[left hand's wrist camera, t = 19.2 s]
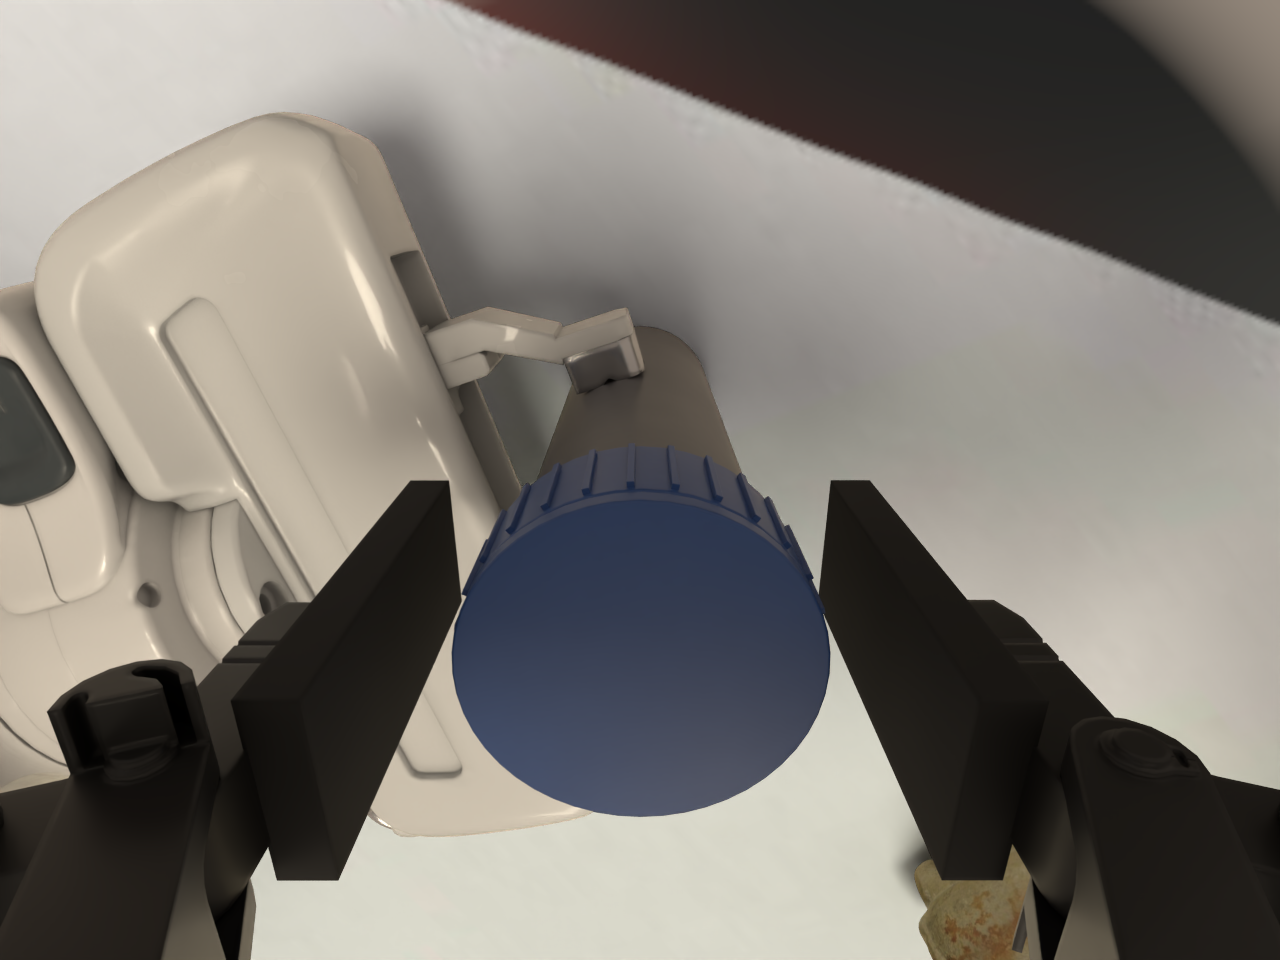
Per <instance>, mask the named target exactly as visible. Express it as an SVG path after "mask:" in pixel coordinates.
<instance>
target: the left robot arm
mask: <svg viewBox="0 0 1280 960" xmlns="http://www.w3.org/2000/svg"><path fill="white" fill-rule="evenodd" d="M819 597H820V599H821V601H822V603H823V606H824V608H825V612H826V613H825V614H824V616H825V618H826V620H827V623H828V625H829V627H830V629H831V632H832V634H833V636H834V638H835V641H836V643H837V645H838V647H839V650H840V652H841V654H842V657H843V659H844V661H845V663H846V666H847V668H848V670H849V672H850V675H851V677H852V679H853V681H854V684H855V686H856V688H857V690H858V693H859V695H860V697H861V699H862V702H863V704H864V706H865V708H866V711H867V713H868V715H869V717H870V720H871V722H872V724H873V726H874V729H875V731H876V733H877V736H878V738H879V740H880V742H881V745H882V747H883V749H884V751H885V754H886V756H887V758H888V760H889V763H890V765H891V767H892V769H893V772H894V774H895V776H896V778H897V781H898V783H899V785H900V787H901V790H902V792H903V794H904V796H905V799H906V801H907V803H908V806H909V808H910V810H911V812H912V815H913V817H914V819H915V821H916V824H917V826H918V828H919V830H920V833H921V835H922V837H923V839H924V842H925V844H926V846H927V848H928V851H929V853H930V855H931V857H932V860H933V862H934V864H935V866H936V869H937V871H938V873H939V875H940V878H941V880H1003V878H1004V874H1005V871H1006V867H1007V863H1008V859H1009V855H1010V851H1011V848H1012V844H1013V846H1014V848H1015V850H1016V851H1017V853H1018V855H1019V856H1020V858H1021V860H1022V862H1023V863H1024V865H1025V867H1026V869H1027V870H1028V872H1029V874H1030V875H1031V876H1030V879H1029V883H1028V886H1027V890H1026V894H1025V897H1024V901H1023V904H1022V908H1021V912H1020V915H1019V919H1018V922H1017V926H1016V930H1015V933H1014V938H1013V944H1012V950H1013V951H1016V952H1019V953H1022V951H1023V947H1024V944H1025V940H1026V937H1027V938H1028V947H1029V957H1030V960H1280V790H1278V789H1273V788H1268V787H1264V786H1259V785H1255V784H1250V783H1245V782H1241V781H1236V780H1231V779H1227V778H1222V777H1218V776H1214V775H1211V774H1210V772H1209V771H1208V770H1207V768H1206V767H1205V766H1204V764H1203V763H1202V762H1201V760H1200V759H1199V758H1198V756H1197V755H1195V754H1194V753H1193V752H1191V751H1190V750H1189V749H1188V748H1186V747H1185V746H1184V745H1182V744H1181V743H1180V742H1179V741H1177V740H1176V739H1174V738H1172V737H1170V736H1168V735H1166V734H1164V733H1162V732H1160V731H1158V730H1156V729H1154V728H1152V727H1150V726H1147V725H1143V724H1140V723H1137V722H1134V721H1131V720H1127V719H1123V718H1115V717H1114V716H1113V715H1112V714H1111V713H1110V712H1109V711H1108V710H1107V709H1106V708H1105V707H1104V705H1103V704H1102V703H1101V702H1100V701H1099V700H1098V699H1097V698H1096V697H1095V696H1094V695H1093V693H1092V692H1091V691H1090V690H1089V689H1088V688H1087V687H1086V686H1085V685H1084V684H1083V683H1082V681H1081V680H1080V679H1079V678H1078V677H1077V676H1076V675H1075V674H1074V673H1073V672H1072V671H1071V669H1070V668H1069V667H1068V666H1067V665H1066V664H1065V663H1064V662H1063V661H1059V659H1058V655H1057V654H1056V653H1055V652H1054V651H1053V650H1052V649H1051V648H1050V647H1049V645H1048V644H1047V643H1043V641H1042V638H1041V637H1040V636H1039V634H1038V633H1037V632H1036V631H1035V630H1034V629H1033V628H1032V627H1031V626H1030V625H1029V624H1028V622H1027V621H1026V620H1025V619H1024V618H1023V617H1021V616H1019V615H1018V614H1016V613H1014V612H1013V611H1011V610H1009V609H1008V608H1006V607H1005V606H1003V605H1001V604H1000V603H998V602H996V601H995V600H967V599H966V598H965V596H964V595H963V594H962V593H961V592H960V590H959V589H958V588H957V587H956V585H955V584H954V583H953V582H952V581H951V579H950V578H949V577H948V576H947V574H946V573H945V572H944V571H943V570H942V568H941V567H940V566H939V565H938V563H937V562H936V561H935V560H934V559H933V557H932V556H931V555H930V554H929V552H928V551H927V550H926V549H925V548H924V546H923V545H922V544H921V543H920V541H919V540H918V539H917V538H916V536H915V535H914V534H913V533H912V532H911V530H910V529H909V528H908V527H907V525H906V524H905V523H904V522H903V521H902V519H901V518H900V517H899V516H898V514H897V513H896V512H895V511H894V510H893V508H892V507H891V506H890V505H889V503H888V502H887V501H886V500H885V499H884V497H883V496H882V495H881V494H880V492H879V491H878V490H877V489H876V488H875V486H874V485H873V484H872V483H871V481H870V480H831V484H830V493H829V503H828V512H827V522H826V531H825V540H824V550H823V559H822V569H821V578H820V588H819ZM461 602H462V597H461V588H460V578H459V569H458V559H457V550H456V541H455V531H454V522H453V512H452V503H451V493H450V484H449V480H410V481H409V483H408V484H407V485H406V486H405V488H404V489H403V490H402V491H401V492H400V494H399V495H398V496H397V497H396V499H395V500H394V501H393V502H392V503H391V505H390V506H389V507H388V508H387V510H386V511H385V512H384V513H383V514H382V516H381V517H380V518H379V519H378V521H377V522H376V523H375V524H374V525H373V527H372V528H371V529H370V530H369V532H368V533H367V534H366V535H365V536H364V538H363V539H362V540H361V541H360V543H359V544H358V545H357V546H356V548H355V549H354V550H353V551H352V552H351V554H350V555H349V556H348V557H347V559H346V560H345V561H344V562H343V563H342V565H341V566H340V567H339V568H338V570H337V571H336V572H335V573H334V574H333V576H332V577H331V578H330V579H329V581H328V582H327V583H326V584H325V585H324V587H323V588H322V589H321V590H320V592H319V593H318V594H317V595H316V596H315V598H314V599H313V600H312V601H311V602H286V603H285V604H283V605H281V606H280V607H278V608H276V609H275V610H273V611H272V612H270V613H268V614H267V615H265V616H263V617H262V618H260V619H258V620H257V621H256V622H255V623H254V624H253V625H252V627H251V628H250V629H249V630H248V631H247V632H246V633H245V634H244V635H243V636H242V638H241V639H240V640H239V641H238V645H234V646H233V647H232V649H231V650H230V651H229V652H228V653H227V654H226V655H225V656H224V657H223V658H222V663H218V664H217V665H216V666H215V667H214V668H213V669H212V671H211V672H210V673H209V674H208V675H207V676H206V677H205V678H204V679H203V680H202V682H201V683H200V684H199V685H198V686H197V685H196V682H195V678H194V674H193V671H192V669H191V668H189V667H188V666H187V665H185V664H184V663H182V662H180V661H173V660H167V659H155V660H145V661H136V662H133V663H129V664H126V665H122V666H118V667H115V668H111V669H108V670H106V671H104V672H102V673H99V674H97V675H95V676H93V677H90V678H88V679H86V680H84V681H82V682H80V683H79V684H77V685H76V686H74V687H73V688H71V689H70V690H68V691H67V692H66V693H64V694H63V695H61V696H60V697H59V698H58V699H57V701H56V702H55V703H54V704H53V705H52V706H51V707H50V708H49V710H48V711H47V714H48V716H49V719H50V722H51V724H52V727H53V730H54V732H55V735H56V738H57V740H58V743H59V745H60V748H61V751H62V753H63V756H64V759H65V761H66V764H67V767H68V769H69V772H70V776H69V778H67V779H63V780H59V781H54V782H50V783H45V784H40V785H36V786H31V787H26V788H22V789H17V790H13V791H8V792H3V793H0V960H250V959H251V950H252V940H253V931H254V922H255V913H256V902H255V896H254V890H253V886H252V883H251V879H250V878H251V876H252V874H253V872H254V871H255V869H256V867H257V865H258V864H259V862H260V860H261V858H262V857H263V855H264V853H265V851H266V850H267V848H269V851H270V855H271V859H272V863H273V867H274V871H275V875H276V878H277V880H339V878H340V875H341V873H342V871H343V869H344V866H345V864H346V862H347V860H348V857H349V855H350V853H351V851H352V848H353V846H354V844H355V842H356V839H357V837H358V835H359V833H360V830H361V828H362V826H363V824H364V821H365V819H366V817H367V815H368V812H369V810H370V808H371V805H372V803H373V801H374V799H375V796H376V794H377V792H378V790H379V787H380V785H381V783H382V781H383V778H384V776H385V774H386V772H387V769H388V767H389V765H390V763H391V760H392V758H393V756H394V754H395V751H396V749H397V747H398V745H399V742H400V740H401V738H402V736H403V733H404V731H405V729H406V726H407V724H408V722H409V720H410V717H411V715H412V713H413V711H414V708H415V706H416V704H417V702H418V699H419V697H420V695H421V693H422V690H423V688H424V686H425V684H426V681H427V679H428V677H429V675H430V672H431V670H432V668H433V666H434V663H435V661H436V659H437V657H438V654H439V652H440V650H441V647H442V645H443V643H444V641H445V638H446V636H447V634H448V632H449V629H450V627H451V625H452V623H453V620H454V618H455V616H456V614H457V611H458V609H459V607H460V605H461Z"/></svg>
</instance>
